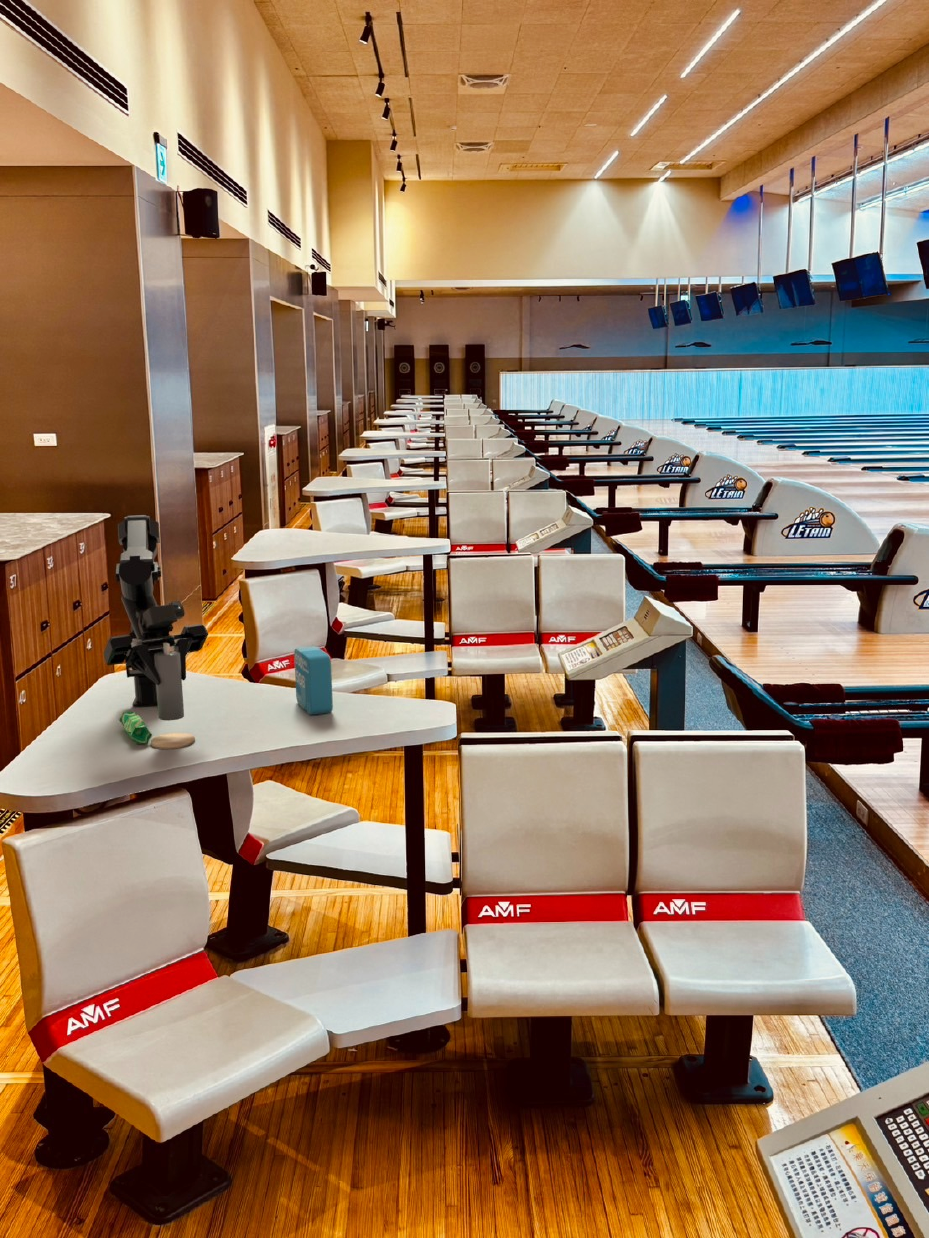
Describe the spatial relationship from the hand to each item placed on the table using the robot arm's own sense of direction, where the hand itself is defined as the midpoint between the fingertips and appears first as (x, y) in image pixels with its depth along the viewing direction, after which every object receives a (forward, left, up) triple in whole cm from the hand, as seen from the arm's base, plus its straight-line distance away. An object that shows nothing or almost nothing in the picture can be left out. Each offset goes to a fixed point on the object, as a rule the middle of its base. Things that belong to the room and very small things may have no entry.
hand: (171, 681), depth 208 cm
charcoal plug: (-1, -1, -7) cm, 7 cm away
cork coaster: (-1, -1, -12) cm, 12 cm away
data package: (-19, +26, -12) cm, 35 cm away
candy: (-7, -8, -12) cm, 16 cm away
